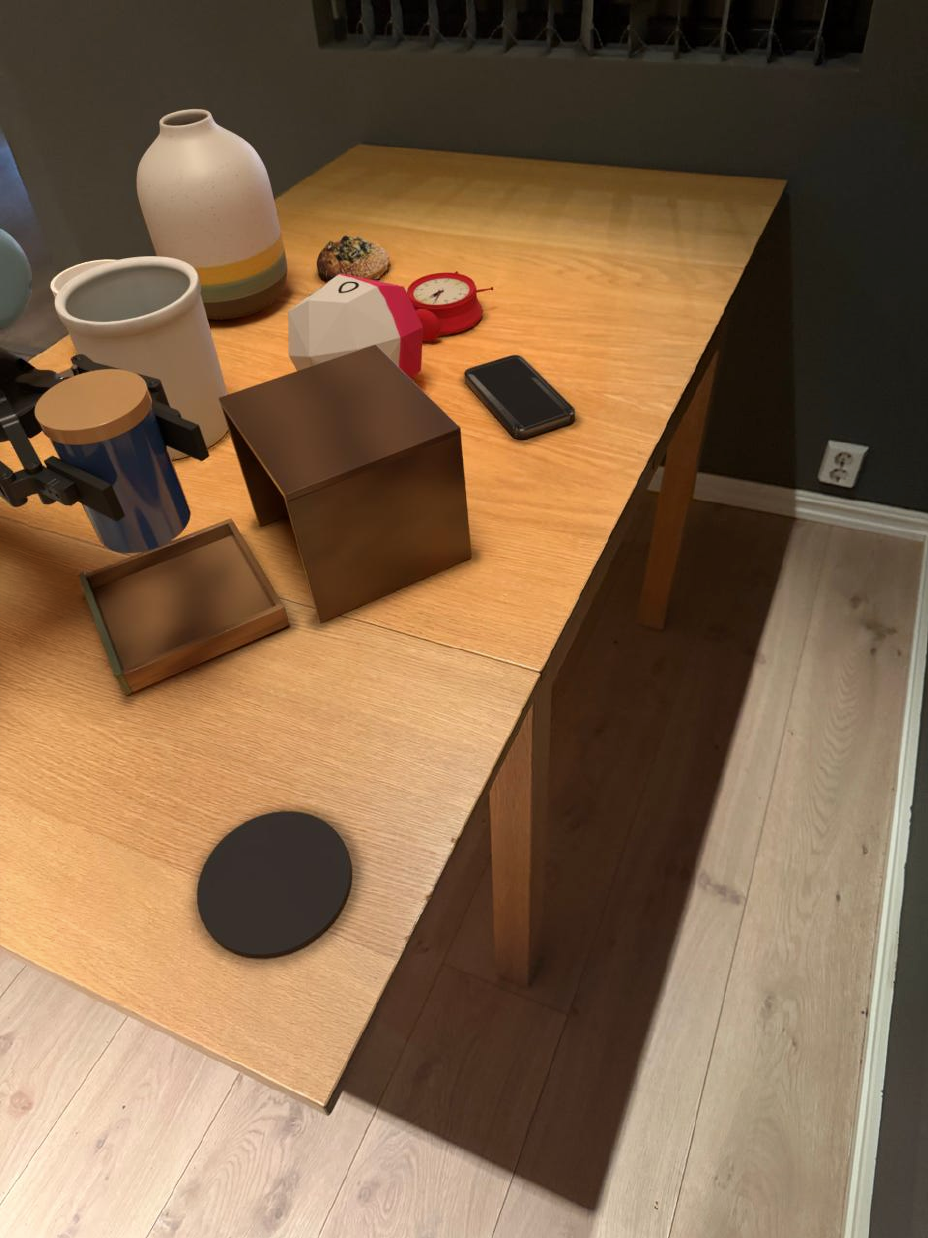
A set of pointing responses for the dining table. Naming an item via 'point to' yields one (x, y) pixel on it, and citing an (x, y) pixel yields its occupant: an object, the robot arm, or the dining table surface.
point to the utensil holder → (150, 332)
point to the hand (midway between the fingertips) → (158, 472)
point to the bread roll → (352, 259)
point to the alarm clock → (445, 303)
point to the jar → (118, 455)
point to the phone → (519, 396)
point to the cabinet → (354, 475)
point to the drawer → (181, 604)
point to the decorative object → (355, 323)
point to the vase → (213, 213)
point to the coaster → (274, 884)
